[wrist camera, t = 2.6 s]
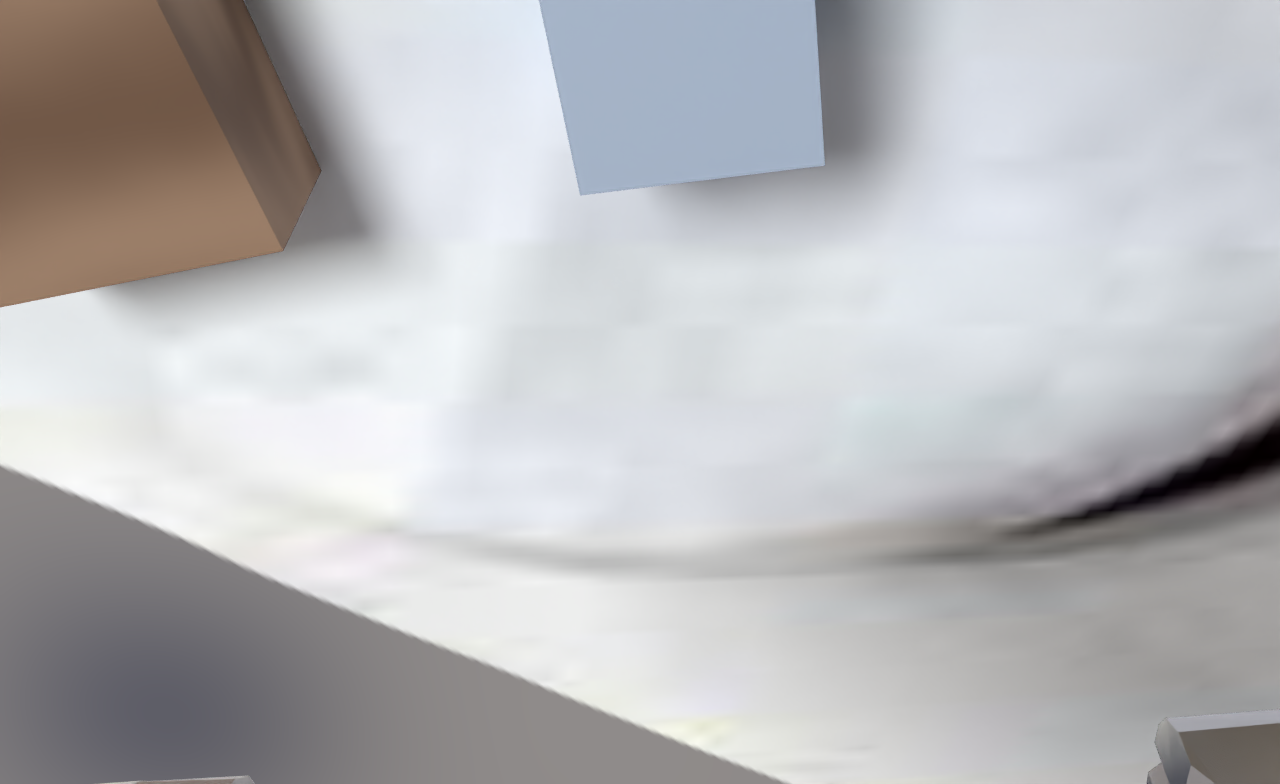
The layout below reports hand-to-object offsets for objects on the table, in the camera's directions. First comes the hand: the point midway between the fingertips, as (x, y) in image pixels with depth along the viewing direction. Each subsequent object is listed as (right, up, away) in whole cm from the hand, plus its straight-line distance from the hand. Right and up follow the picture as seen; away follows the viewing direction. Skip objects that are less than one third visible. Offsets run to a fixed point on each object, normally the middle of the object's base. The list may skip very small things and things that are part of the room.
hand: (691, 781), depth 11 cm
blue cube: (+1, +13, +16) cm, 20 cm away
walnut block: (-13, +12, +17) cm, 25 cm away
